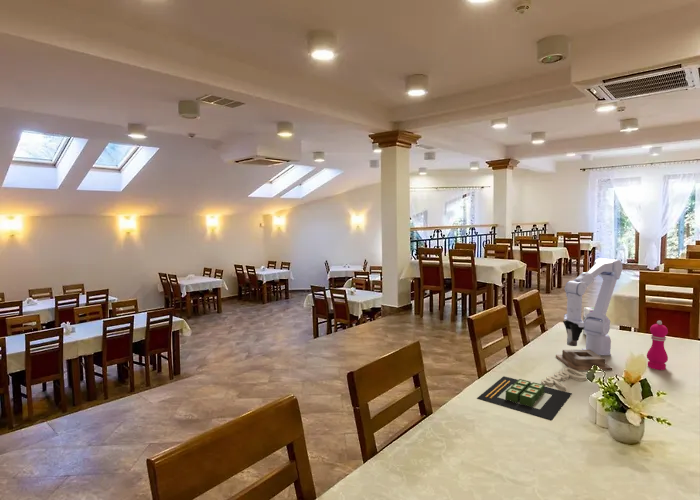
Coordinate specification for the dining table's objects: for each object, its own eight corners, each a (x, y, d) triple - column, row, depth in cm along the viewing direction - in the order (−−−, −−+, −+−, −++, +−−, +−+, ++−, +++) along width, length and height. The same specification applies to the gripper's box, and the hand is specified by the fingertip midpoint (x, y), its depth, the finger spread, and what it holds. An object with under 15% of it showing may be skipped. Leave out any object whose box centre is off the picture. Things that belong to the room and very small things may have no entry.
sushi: (503, 378, 173) (503, 369, 172) (571, 395, 157) (572, 385, 156) (477, 400, 154) (477, 390, 153) (551, 422, 138) (551, 411, 137)
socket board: (591, 356, 194) (591, 347, 193) (612, 370, 178) (612, 360, 177) (555, 356, 194) (555, 348, 193) (573, 370, 178) (573, 361, 178)
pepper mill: (647, 368, 179) (650, 321, 177) (645, 363, 185) (647, 317, 183) (668, 371, 175) (672, 323, 173) (665, 365, 182) (668, 319, 180)
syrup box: (599, 337, 221) (600, 309, 220) (587, 337, 221) (589, 309, 220) (593, 333, 227) (594, 306, 225) (582, 333, 227) (583, 306, 225)
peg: (575, 343, 191) (575, 328, 191) (578, 346, 187) (579, 330, 187) (565, 343, 192) (566, 327, 191) (568, 346, 188) (569, 330, 187)
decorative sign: (567, 367, 179) (592, 374, 171) (566, 370, 179) (591, 378, 171) (536, 380, 166) (561, 389, 158) (536, 384, 166) (561, 393, 158)
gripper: (557, 304, 195) (556, 333, 197) (572, 312, 181) (571, 344, 182) (573, 304, 195) (572, 333, 196) (589, 312, 181) (588, 344, 182)
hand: (572, 338), depth 189 cm, fingers closed on peg, 4 cm apart
